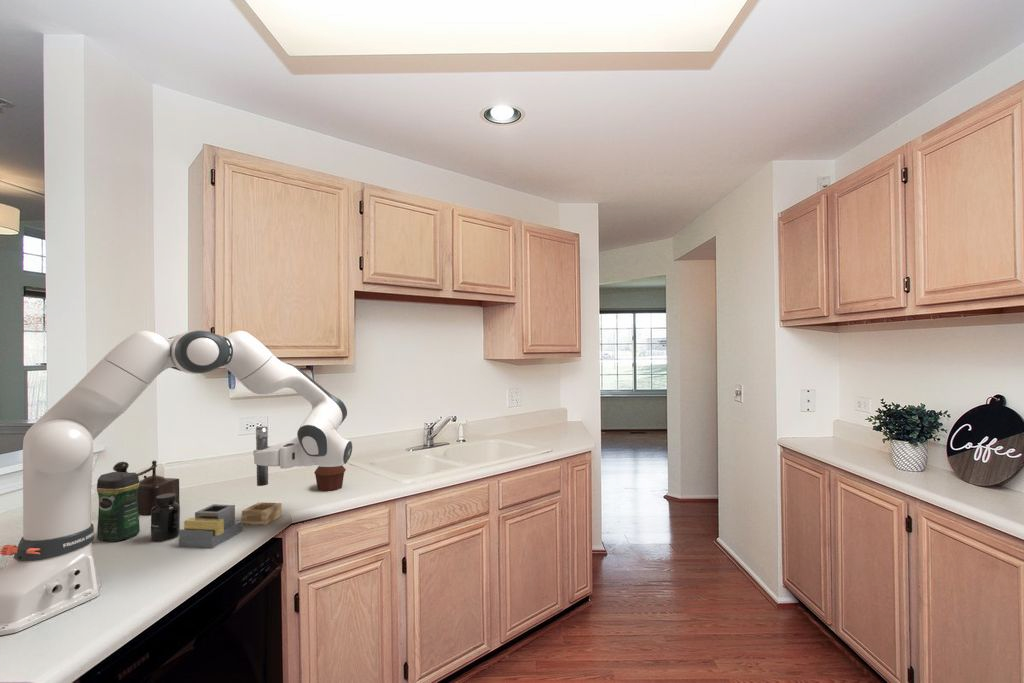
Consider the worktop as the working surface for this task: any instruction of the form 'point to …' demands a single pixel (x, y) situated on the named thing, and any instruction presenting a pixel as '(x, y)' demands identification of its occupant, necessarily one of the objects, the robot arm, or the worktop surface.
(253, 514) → the open box
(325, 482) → the muffin
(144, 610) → the worktop surface
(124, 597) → the worktop surface
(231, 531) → the socket
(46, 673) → the worktop surface
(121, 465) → the manual coffee grinder
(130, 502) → the coffee jar
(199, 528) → the yellow rectangular block
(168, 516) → the supplement bottle
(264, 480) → the grey cylinder
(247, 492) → the worktop surface
